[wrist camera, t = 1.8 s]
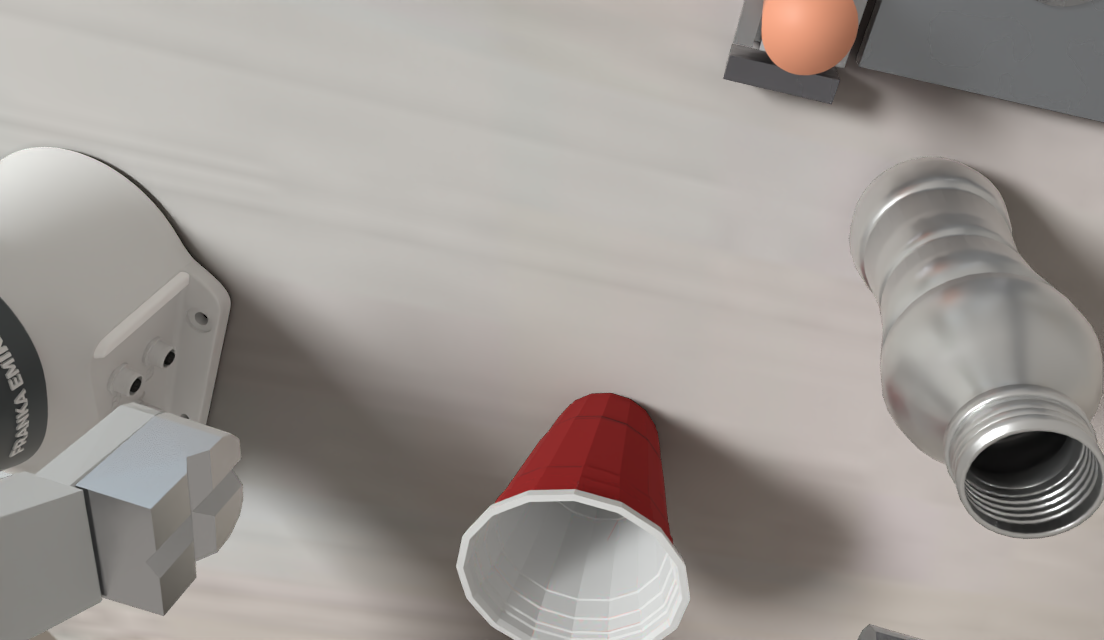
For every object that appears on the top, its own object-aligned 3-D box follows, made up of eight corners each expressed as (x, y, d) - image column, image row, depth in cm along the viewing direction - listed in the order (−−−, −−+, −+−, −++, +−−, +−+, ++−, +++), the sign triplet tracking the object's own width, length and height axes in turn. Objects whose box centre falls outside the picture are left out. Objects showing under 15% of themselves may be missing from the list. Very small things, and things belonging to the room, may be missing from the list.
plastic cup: (604, 537, 53) (563, 701, 43) (482, 417, 51) (409, 560, 40) (746, 456, 48) (740, 621, 38) (619, 319, 46) (575, 453, 35)
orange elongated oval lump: (825, 58, 36) (836, 95, 30) (750, 41, 37) (746, 75, 31) (858, -43, 34) (876, -23, 28) (779, -60, 35) (781, -44, 29)
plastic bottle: (844, 282, 42) (895, 577, 25) (845, 147, 39) (904, 375, 22) (989, 277, 40) (1152, 589, 23) (1001, 136, 37) (1200, 372, 20)
